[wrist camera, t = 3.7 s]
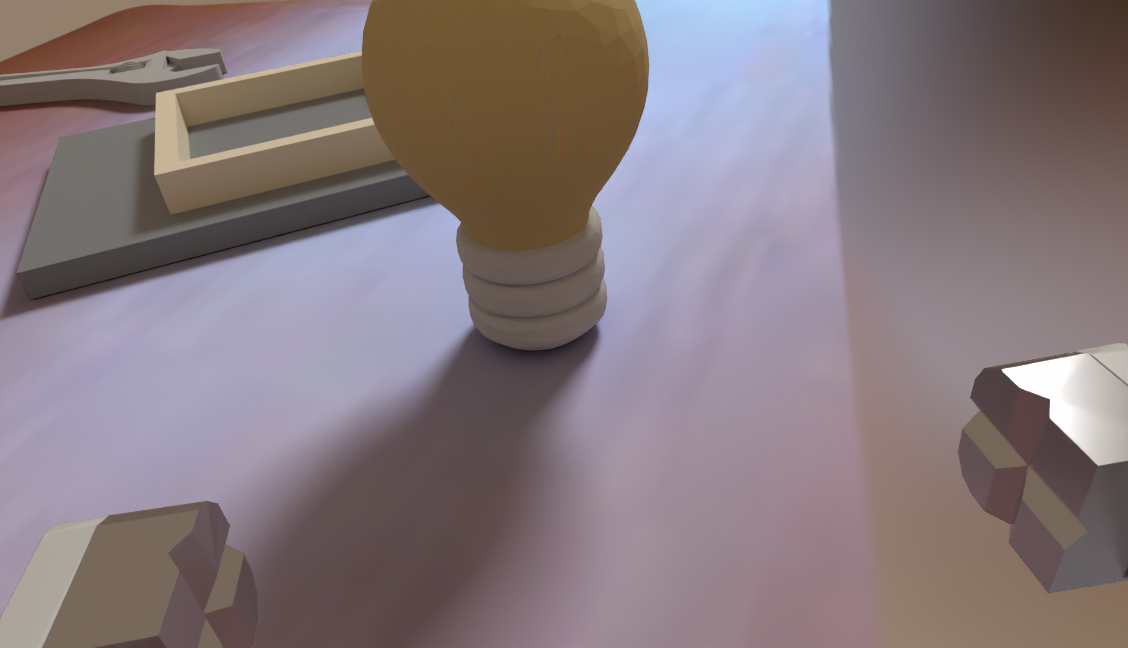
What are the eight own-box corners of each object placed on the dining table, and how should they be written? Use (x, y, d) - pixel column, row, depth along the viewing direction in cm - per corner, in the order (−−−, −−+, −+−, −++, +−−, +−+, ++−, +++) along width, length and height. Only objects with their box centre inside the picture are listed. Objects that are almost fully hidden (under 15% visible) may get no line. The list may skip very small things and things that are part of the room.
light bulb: (587, 426, 18) (539, -41, 13) (378, 361, 21) (263, -43, 16) (693, 288, 23) (692, -105, 17) (508, 249, 26) (455, -97, 20)
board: (31, 299, 26) (-8, 231, 25) (69, 158, 37) (44, 105, 36) (587, 154, 32) (582, 91, 30) (478, 68, 42) (470, 19, 41)
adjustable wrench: (-186, 130, 47) (-205, 100, 46) (-97, 93, 52) (-113, 66, 51) (201, 109, 42) (189, 76, 42) (256, 71, 48) (246, 41, 47)
